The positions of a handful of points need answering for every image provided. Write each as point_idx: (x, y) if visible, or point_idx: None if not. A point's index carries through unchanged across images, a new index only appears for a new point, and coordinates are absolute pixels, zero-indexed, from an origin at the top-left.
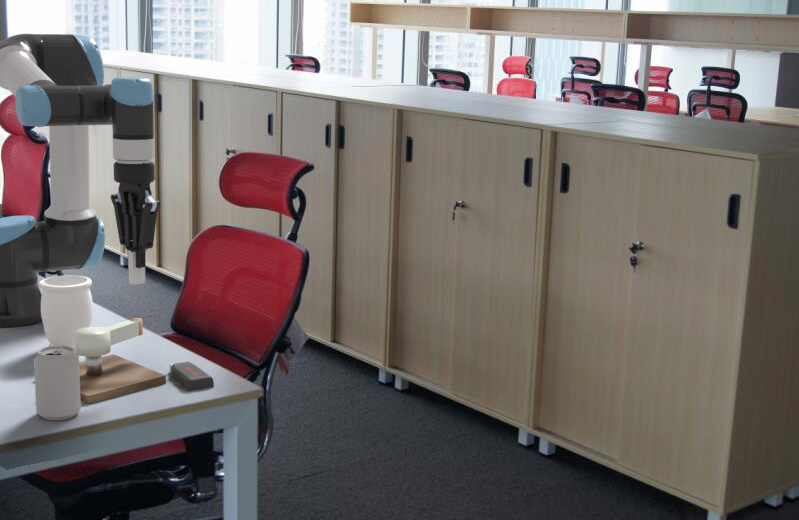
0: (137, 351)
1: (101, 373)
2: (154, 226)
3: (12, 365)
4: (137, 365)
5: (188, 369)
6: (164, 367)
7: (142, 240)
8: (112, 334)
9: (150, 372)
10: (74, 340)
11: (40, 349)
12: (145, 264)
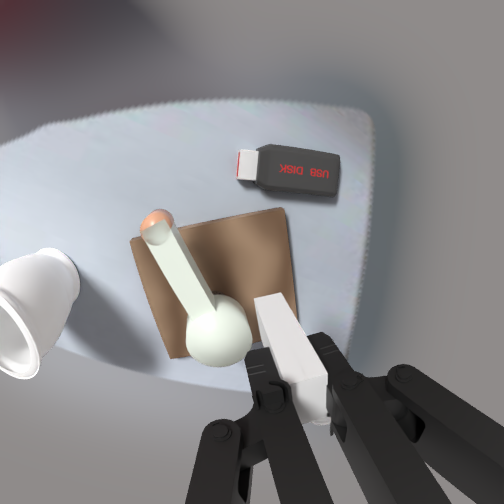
0: (100, 183)
1: (222, 293)
2: (495, 427)
3: (102, 356)
4: (209, 228)
5: (294, 170)
6: (206, 174)
7: (421, 428)
8: (209, 297)
9: (256, 224)
10: (72, 288)
11: (315, 423)
12: (329, 337)
